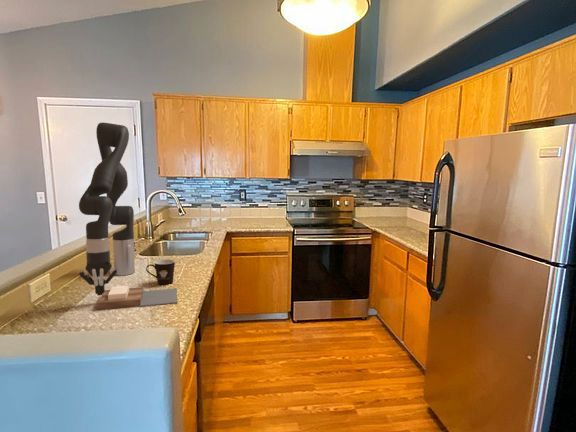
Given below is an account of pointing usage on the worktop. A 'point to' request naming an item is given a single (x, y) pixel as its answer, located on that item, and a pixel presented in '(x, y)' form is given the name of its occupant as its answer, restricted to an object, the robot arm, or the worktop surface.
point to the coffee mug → (163, 271)
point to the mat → (159, 297)
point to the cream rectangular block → (118, 292)
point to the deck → (131, 300)
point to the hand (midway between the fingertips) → (100, 294)
